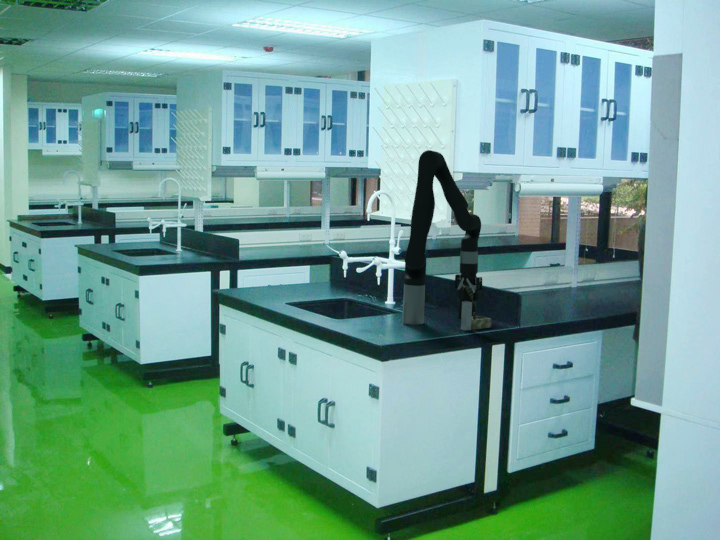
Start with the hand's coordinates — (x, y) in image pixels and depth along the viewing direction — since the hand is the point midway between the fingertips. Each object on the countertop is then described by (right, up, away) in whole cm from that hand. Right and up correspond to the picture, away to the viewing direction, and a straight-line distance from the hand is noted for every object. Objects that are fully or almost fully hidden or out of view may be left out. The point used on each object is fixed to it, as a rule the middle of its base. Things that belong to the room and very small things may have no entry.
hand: (467, 300), depth 318 cm
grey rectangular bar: (-1, -13, +1) cm, 13 cm away
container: (+3, -10, +27) cm, 29 cm away
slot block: (+5, -12, +8) cm, 15 cm away
